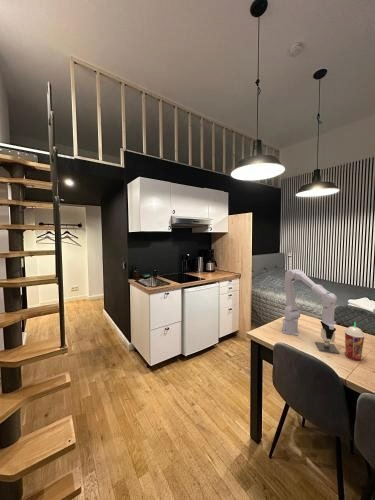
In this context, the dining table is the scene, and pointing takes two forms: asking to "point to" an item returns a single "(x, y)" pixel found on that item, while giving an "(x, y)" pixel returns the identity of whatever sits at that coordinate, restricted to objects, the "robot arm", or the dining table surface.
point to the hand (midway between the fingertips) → (327, 336)
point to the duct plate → (331, 350)
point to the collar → (323, 335)
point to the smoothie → (354, 342)
